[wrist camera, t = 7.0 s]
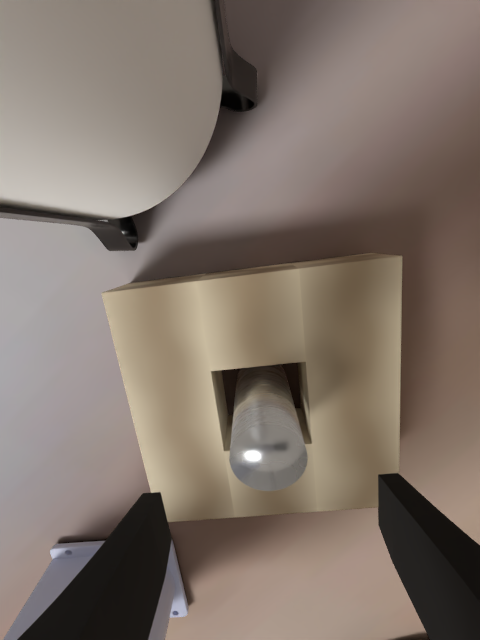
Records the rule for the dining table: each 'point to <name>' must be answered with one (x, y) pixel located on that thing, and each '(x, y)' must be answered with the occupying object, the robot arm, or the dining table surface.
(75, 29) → the coffee press
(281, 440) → the peg
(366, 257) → the socket block
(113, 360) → the dining table surface
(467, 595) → the robot arm
